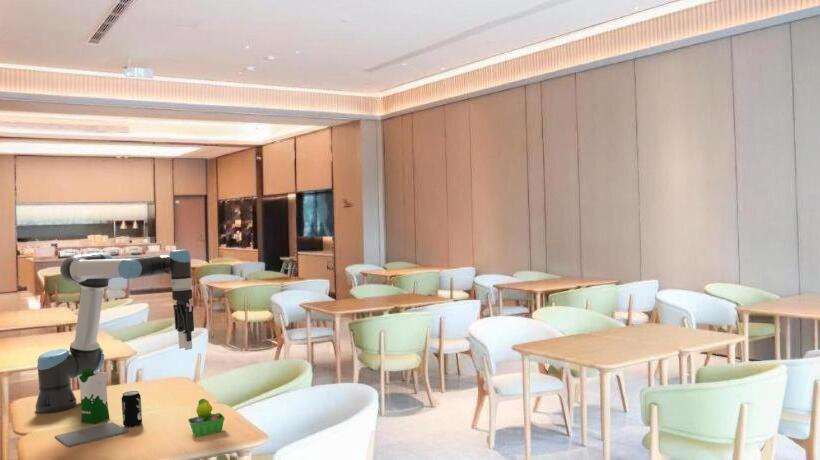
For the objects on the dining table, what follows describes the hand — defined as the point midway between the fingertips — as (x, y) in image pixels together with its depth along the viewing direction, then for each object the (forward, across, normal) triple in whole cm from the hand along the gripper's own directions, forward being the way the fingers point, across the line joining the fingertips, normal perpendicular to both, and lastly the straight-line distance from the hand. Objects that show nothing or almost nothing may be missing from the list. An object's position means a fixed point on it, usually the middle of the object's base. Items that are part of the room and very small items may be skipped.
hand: (185, 348), depth 268 cm
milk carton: (+25, -18, -30) cm, 43 cm away
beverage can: (+25, 0, -22) cm, 33 cm away
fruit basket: (+25, +31, -8) cm, 41 cm away
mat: (+25, 0, -36) cm, 44 cm away
